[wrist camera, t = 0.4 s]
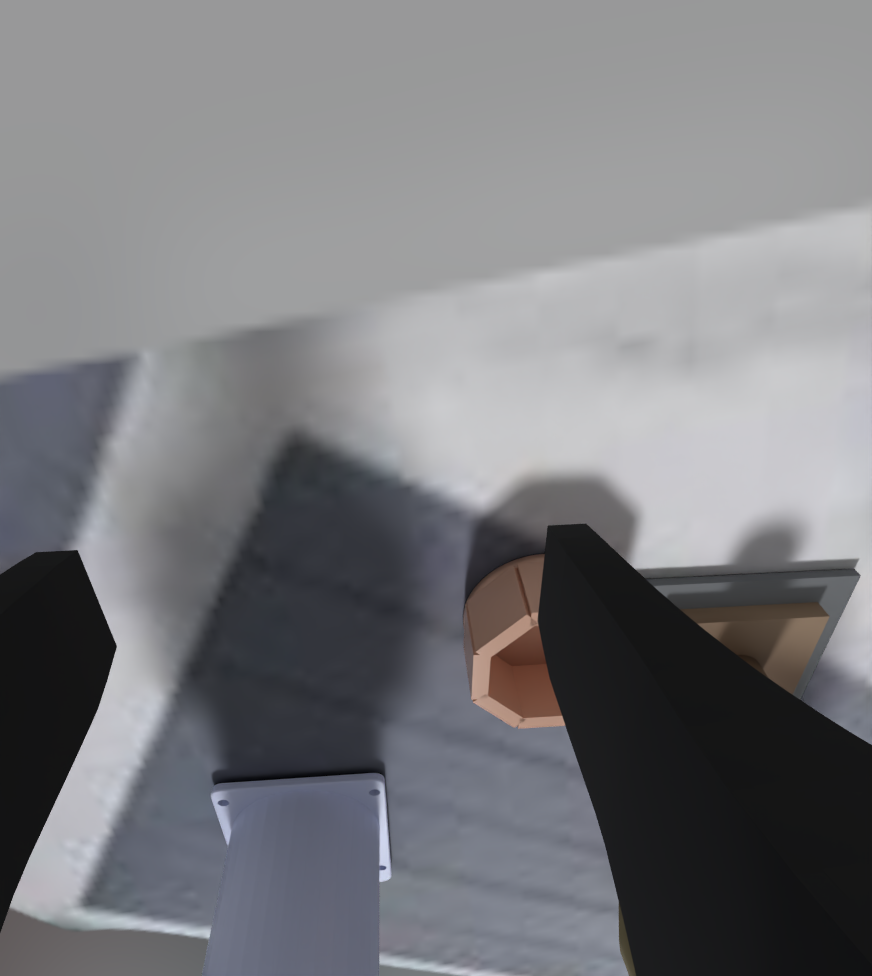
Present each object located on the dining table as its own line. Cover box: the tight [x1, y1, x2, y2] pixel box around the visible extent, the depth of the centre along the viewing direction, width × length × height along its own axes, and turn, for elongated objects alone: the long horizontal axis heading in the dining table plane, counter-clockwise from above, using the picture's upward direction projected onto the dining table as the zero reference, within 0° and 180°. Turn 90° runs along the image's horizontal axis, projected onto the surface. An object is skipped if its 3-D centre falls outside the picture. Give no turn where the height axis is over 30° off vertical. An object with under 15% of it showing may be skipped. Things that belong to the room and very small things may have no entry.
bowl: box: [463, 554, 565, 729], centre depth 23 cm, size 6×6×3 cm
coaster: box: [646, 569, 861, 699], centre depth 26 cm, size 9×9×1 cm
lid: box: [680, 602, 830, 695], centre depth 24 cm, size 6×6×5 cm
